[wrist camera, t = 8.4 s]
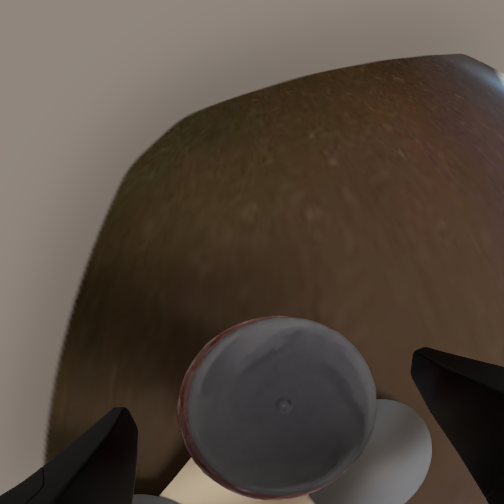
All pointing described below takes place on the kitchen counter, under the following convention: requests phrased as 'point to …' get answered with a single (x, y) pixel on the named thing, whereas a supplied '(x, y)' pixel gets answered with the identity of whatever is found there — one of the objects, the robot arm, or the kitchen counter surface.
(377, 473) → the board
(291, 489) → the supplement bottle
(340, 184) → the kitchen counter surface
